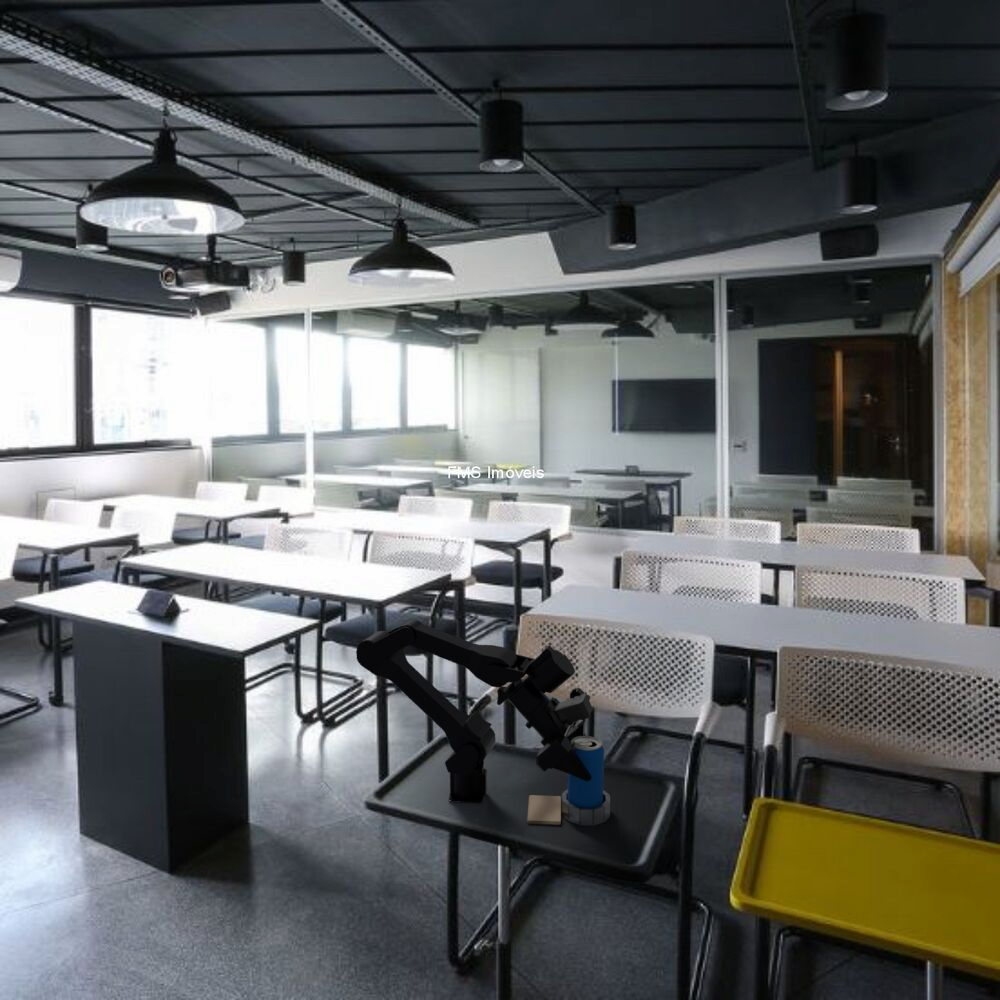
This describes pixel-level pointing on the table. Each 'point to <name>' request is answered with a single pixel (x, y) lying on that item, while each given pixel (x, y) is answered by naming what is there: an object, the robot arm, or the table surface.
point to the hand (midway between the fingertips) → (593, 771)
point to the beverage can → (593, 760)
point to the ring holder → (586, 811)
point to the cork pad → (544, 810)
